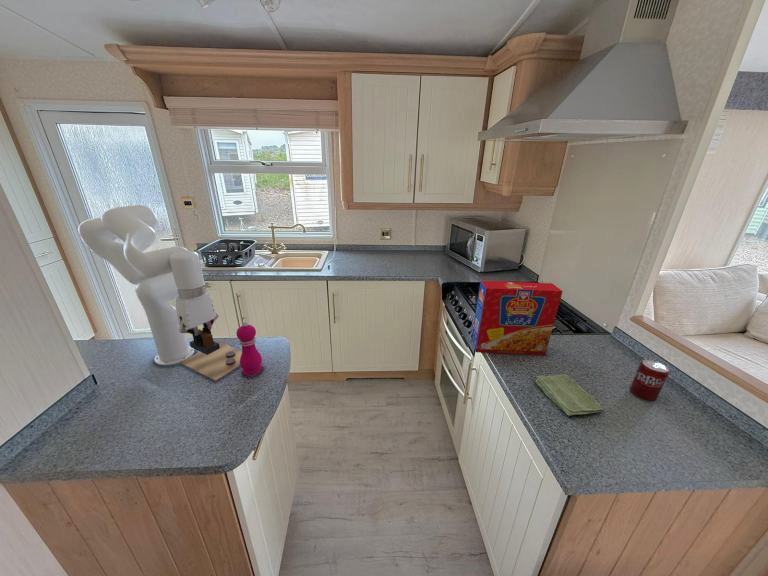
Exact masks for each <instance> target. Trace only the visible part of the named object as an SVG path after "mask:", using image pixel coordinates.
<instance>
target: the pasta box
mask: <svg viewBox="0 0 768 576" xmlns="http://www.w3.org/2000/svg"><path fill="white" fill-rule="evenodd" d="M562 295H563V290H562V289H560V288H559V287H558V286H556V285H555V284H554V283H553V282H528V281H527V282H526V281H503V280H502V281H499V280H497V281H496V280H480V281H479V288H478V294H477V299H476V300H477V301H476V307H475V312H474V319H473V320H474V321H473V326H472V332H471V339H470V343H471V345H472V347H473V349H474V352H475V353H481V354H507V355H509V354H510V355H534V356H546V355H547V351H548V348H549V343H550V339H551V336H552V333H553V329H554V325H555V322H556V318H557V314H558V310H559V306H560V302H561V299H562Z"/></svg>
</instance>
